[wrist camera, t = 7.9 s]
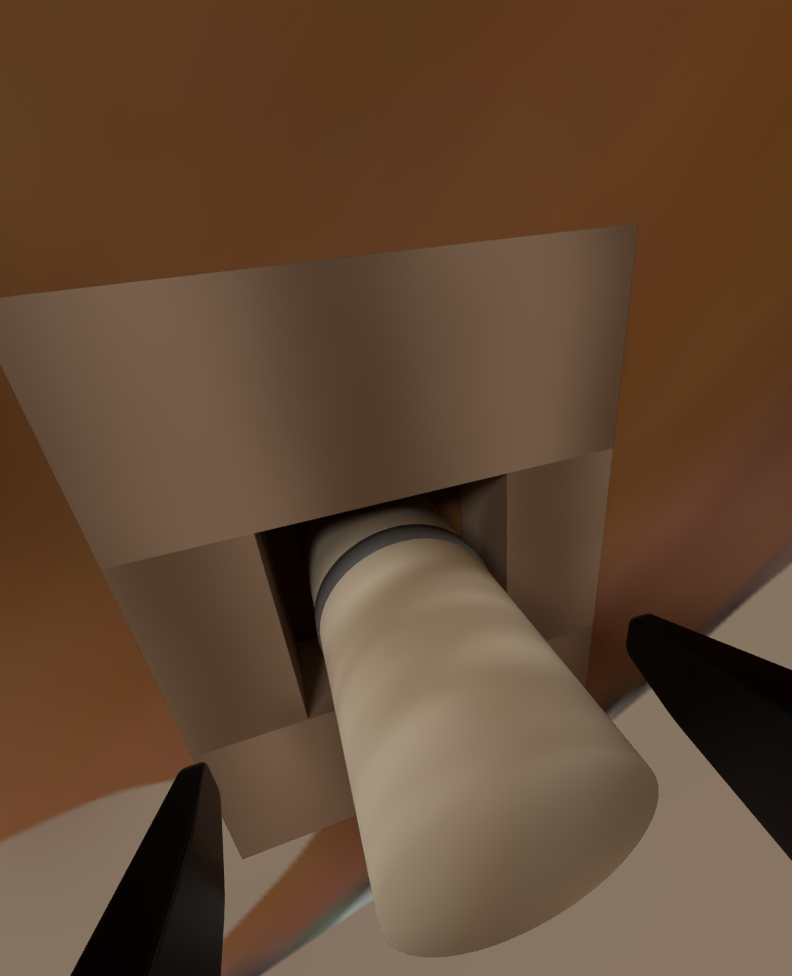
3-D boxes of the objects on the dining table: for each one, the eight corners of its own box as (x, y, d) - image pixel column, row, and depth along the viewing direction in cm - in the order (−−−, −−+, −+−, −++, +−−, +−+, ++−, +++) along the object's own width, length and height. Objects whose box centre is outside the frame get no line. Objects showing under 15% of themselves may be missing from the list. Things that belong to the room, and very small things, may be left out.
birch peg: (436, 461, 14) (685, 705, 6) (444, 580, 16) (639, 879, 8) (287, 495, 13) (349, 836, 5) (316, 616, 15) (394, 995, 7)
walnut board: (553, 235, 12) (638, 223, 9) (535, 667, 19) (580, 729, 17) (46, 294, 9) (-32, 301, 7) (243, 767, 17) (242, 858, 14)
